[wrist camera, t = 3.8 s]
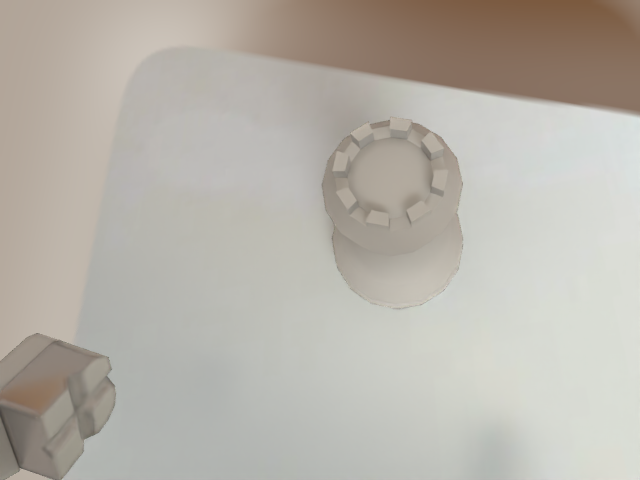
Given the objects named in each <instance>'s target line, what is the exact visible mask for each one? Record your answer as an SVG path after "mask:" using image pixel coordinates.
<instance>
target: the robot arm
mask: <svg viewBox="0 0 640 480" xmlns="http://www.w3.org/2000/svg"><path fill="white" fill-rule="evenodd" d="M111 370H112V369H111V364H110V360H109V357H107V356H104V355H101V354H98V353H95V352H92V351H89V350H87V349H84V348H81V347H78V346H75V345H72V344H69V343H66V342H63V341H61V340H57V339H54V338H51V337H48V336H45V335H42V334H39V333H36V334H34V335H32V336H29V337H27V338H26V339H25V340H24V341H22V342H21V343H20V344H19V345H18V346H17V347H16V348H15V349H14V350H12V351H11V352H10V353H9V354H8V355H7V356H6V357H5V358H3V359H2V360H1V361H0V480H5V479H7V478H9V477H10V476H12V475H14V474H16V473H17V472H19V471H20V469H19V468H21V469H25V470H27V471H30V472H33V473H36V474H39V475H42V476H45V477H48V478H51V479H53V480H62V478H63V477H64V476H65V475H66V473H67V472H68V471H69V470H70V468H71V467H72V466H73V465H74V463H75V462H76V461H77V460H78V458H79V457H80V456H81V454H82V453H83V452H84V440H85V439H87V438H89V437H91V436H93V435H95V434H97V433H99V432H100V430H101V429H102V428H103V426H104V425H105V424H106V422H107V421H108V419H109V417H110V415H111V413H112V410H113V408H114V406H115V399H116V391H115V385H114V384H113V383H112V382H111V380H110V379H109V378H108V377H107V374H108V373H109V372H110V371H111Z"/></svg>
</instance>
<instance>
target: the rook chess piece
mask: <svg viewBox="0 0 640 480" xmlns="http://www.w3.org/2000/svg"><path fill="white" fill-rule="evenodd" d="M462 186H463V182H462V178H461V174H460V169H459V165H458V161H457V158H456V156H455V155H454V154H453V152H452V151H451V150H450V148H449V147H448V146H447V144H446V143H445V142H444V140H443V139H442V138H441V137H440V136H438V135H437V134H435V133H433V132H431V131H430V130H428V129H426V128H425V127H423V126H421V125H419V124H416V123H412V120H408V119H402V118H395V117H390V120H388V121H383V122H378V123H374V124H369V121H368V122H367V123H365V124H363V125H362V126H360V127H359V128H357V129H356V130H354V131H352V132H351V133H350V135H349V136H348V137H346V138H345V139H343V141H342V142H341V143H340V145H339V146H338V147H337V149H336V150H335V151H334V153H333V154H332V156H331V157H330V158H329V160H328V162H327V166H326V170H325V174H324V178H323V182H322V190H323V196H324V202H325V208H326V211H327V213H328V215H329V216H330V218H331V219H332V221H333V222H334V224H335V228H334V232H333V237H332V241H333V248H334V254H335V260H336V263H337V268H338V270H339V271H340V273H341V275H342V276H343V278H344V279H345V281H346V283H347V284H348V286H349V287H350V289H351V290H353V291H354V292H356V293H357V294H359V295H360V296H361V297H363V298H364V299H366V300H367V301H369V302H370V303H372V304H376V305H381V306H385V307H390V308H394V309H399V308H405V307H410V306H416V305H422V304H424V303H425V302H427V301H428V300H430V299H431V298H433V297H435V296H436V295H438V294H439V293H441V292H442V291H444V290H445V288H446V287H447V285H448V284H449V282H450V281H451V279H452V278H453V277H454V275H455V274H456V272H457V271H458V268H459V263H460V258H461V253H462V248H463V236H462V231H461V227H460V223H459V218H458V214H457V213H456V212H457V210H458V206H459V201H460V196H461V191H462Z"/></svg>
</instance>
